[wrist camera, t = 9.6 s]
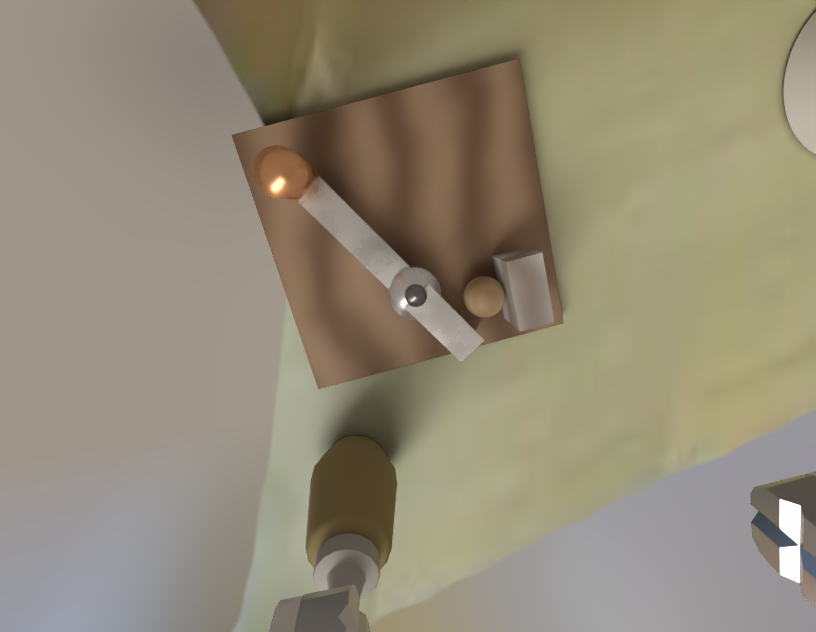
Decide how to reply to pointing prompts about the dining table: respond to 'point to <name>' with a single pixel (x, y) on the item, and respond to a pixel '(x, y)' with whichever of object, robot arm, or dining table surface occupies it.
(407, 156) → the walnut board
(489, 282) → the tan wooden ball
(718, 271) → the dining table surface
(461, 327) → the lever
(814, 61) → the robot arm
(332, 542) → the squeeze bottle
